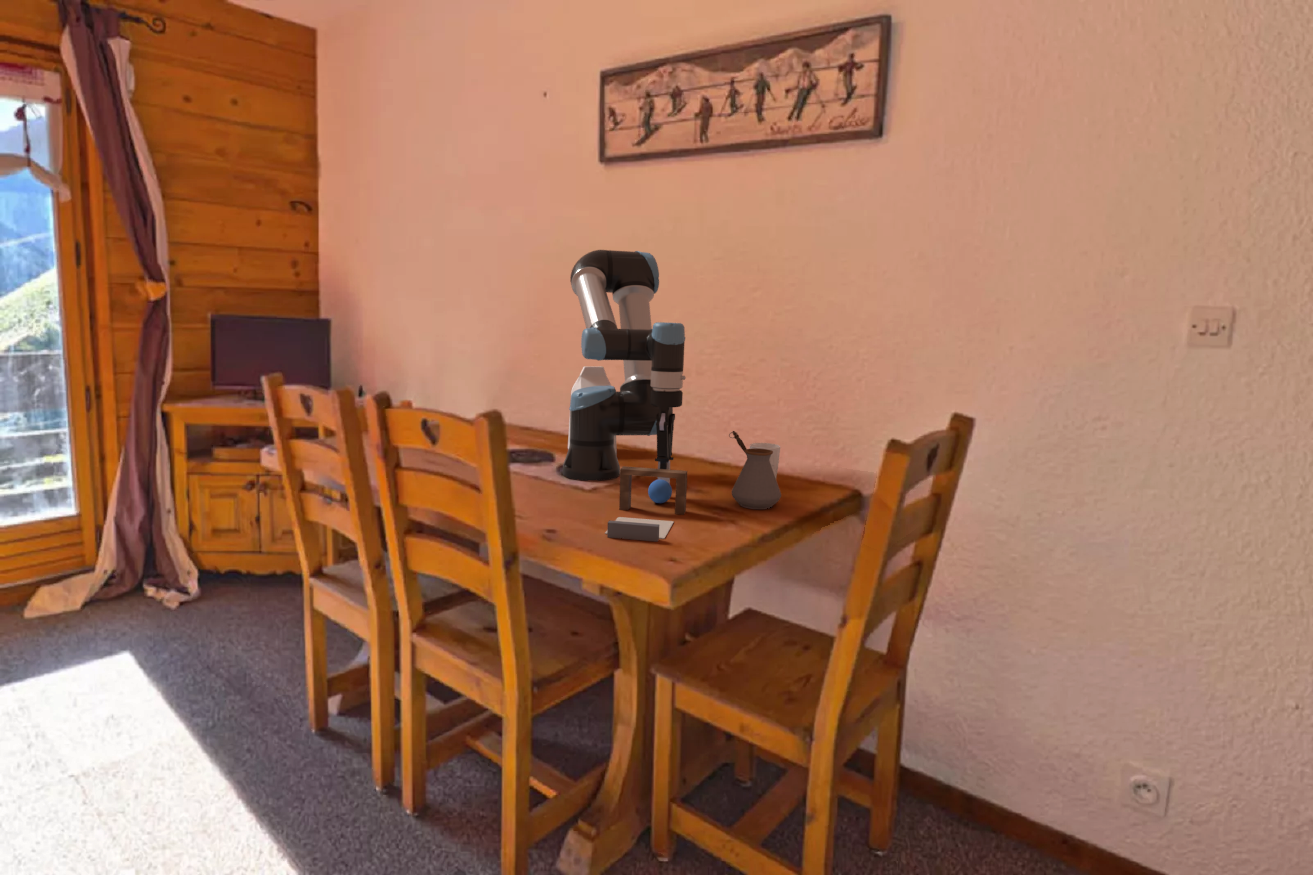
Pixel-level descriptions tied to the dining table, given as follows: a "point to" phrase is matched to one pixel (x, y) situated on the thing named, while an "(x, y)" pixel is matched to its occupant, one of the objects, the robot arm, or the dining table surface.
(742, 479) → the coffee pot
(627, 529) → the stopper wall
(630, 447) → the dining table surface
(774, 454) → the white cup
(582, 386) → the milk
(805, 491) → the dining table surface
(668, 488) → the ball
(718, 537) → the dining table surface
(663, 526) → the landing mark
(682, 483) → the bridge
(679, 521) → the dining table surface
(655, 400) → the robot arm
